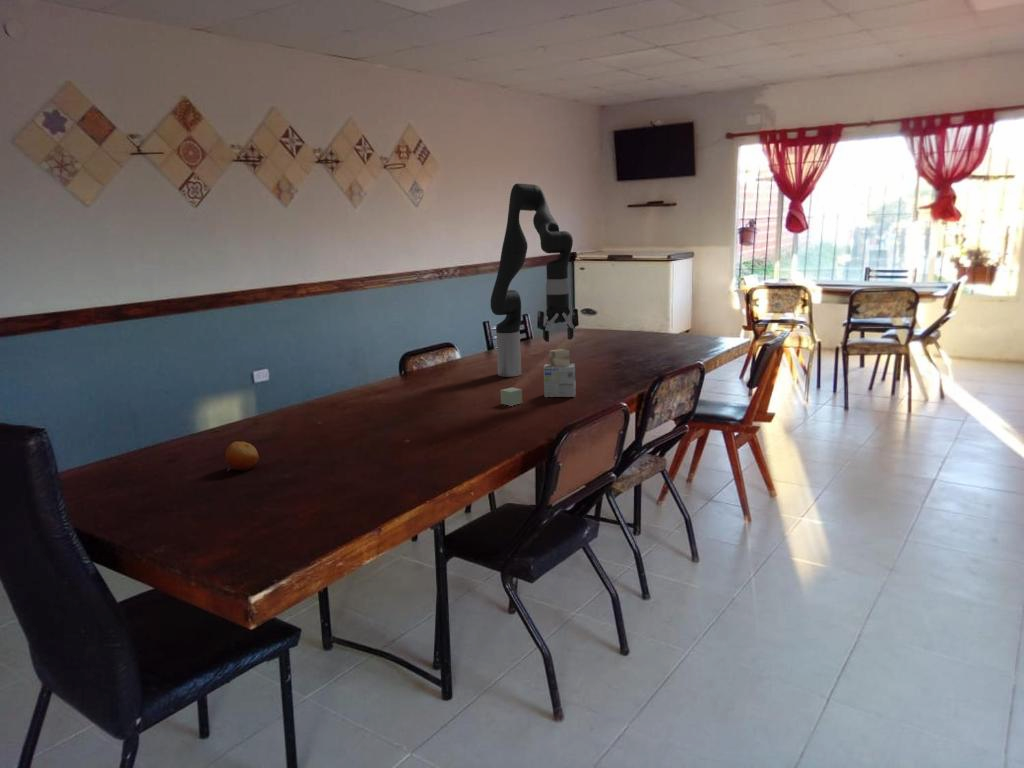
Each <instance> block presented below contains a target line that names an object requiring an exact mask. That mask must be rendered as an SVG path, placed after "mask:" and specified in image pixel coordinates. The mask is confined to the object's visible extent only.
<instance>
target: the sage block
mask: <svg viewBox="0 0 1024 768" xmlns="http://www.w3.org/2000/svg"><path fill="white" fill-rule="evenodd" d="M520 403H522V404H523V390H522V388H516V387H508V388H504V389H500V405H501V404H505V405H509V406H508V407H510V406H512V407H514V406H513V405H516V404H520ZM505 405H504V406H505ZM520 405H521V404H520ZM516 406H517V405H516Z"/></svg>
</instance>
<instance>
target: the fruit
mask: <svg viewBox="0 0 1024 768" xmlns="http://www.w3.org/2000/svg"><path fill="white" fill-rule="evenodd" d="M224 457H225V461H226V464H227V466H228V468H227V470H226V471H227V472H229V471H230V470H234V471H242V472H243V471H245V472H246V471H249V470H251V468H252V467H254V466H255V465H256V463H257V462H258V461H259V459H260V457H259V453H258V451H257V449H256V447H255V446H254V445H252V444H251V443H248V442H245V441H233V442H232V443H230V445H228V447H227V448H226V450H225V452H224Z"/></svg>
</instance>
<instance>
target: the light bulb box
mask: <svg viewBox="0 0 1024 768" xmlns="http://www.w3.org/2000/svg"><path fill="white" fill-rule="evenodd" d="M575 366H576V365H575V363H570V366H562V367H554V366H552V365H550V363H549V364H544V366H543V367H542V368H543V370H542V371H543V394H544V397H546V398H545V399H548V398H547V397H574V398H575V397H576V395H577V394H576V393H577V392H576V388H577V387H576V367H575Z"/></svg>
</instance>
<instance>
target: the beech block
mask: <svg viewBox="0 0 1024 768" xmlns="http://www.w3.org/2000/svg"><path fill="white" fill-rule="evenodd" d="M549 364H550V365H552V366H554V367H562V366H570V364H571V363H570V351H569V350H567V349H564V348H561V349H551V350H549Z"/></svg>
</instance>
